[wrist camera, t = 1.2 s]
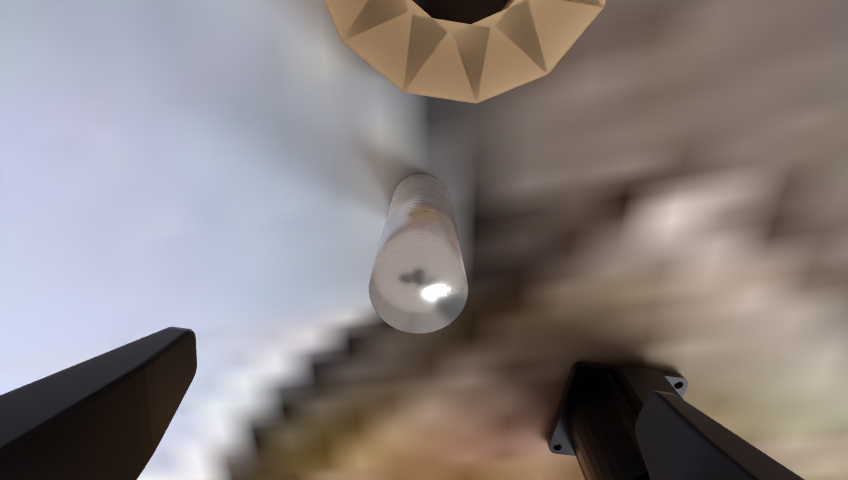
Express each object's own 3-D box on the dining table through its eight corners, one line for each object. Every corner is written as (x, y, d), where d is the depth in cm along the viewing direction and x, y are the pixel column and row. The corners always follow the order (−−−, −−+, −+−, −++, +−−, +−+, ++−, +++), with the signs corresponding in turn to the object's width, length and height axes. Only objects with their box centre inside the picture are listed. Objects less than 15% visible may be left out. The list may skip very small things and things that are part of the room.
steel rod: (445, 233, 21) (458, 339, 12) (389, 225, 21) (364, 327, 12) (454, 178, 20) (476, 253, 11) (396, 169, 20) (374, 239, 11)
